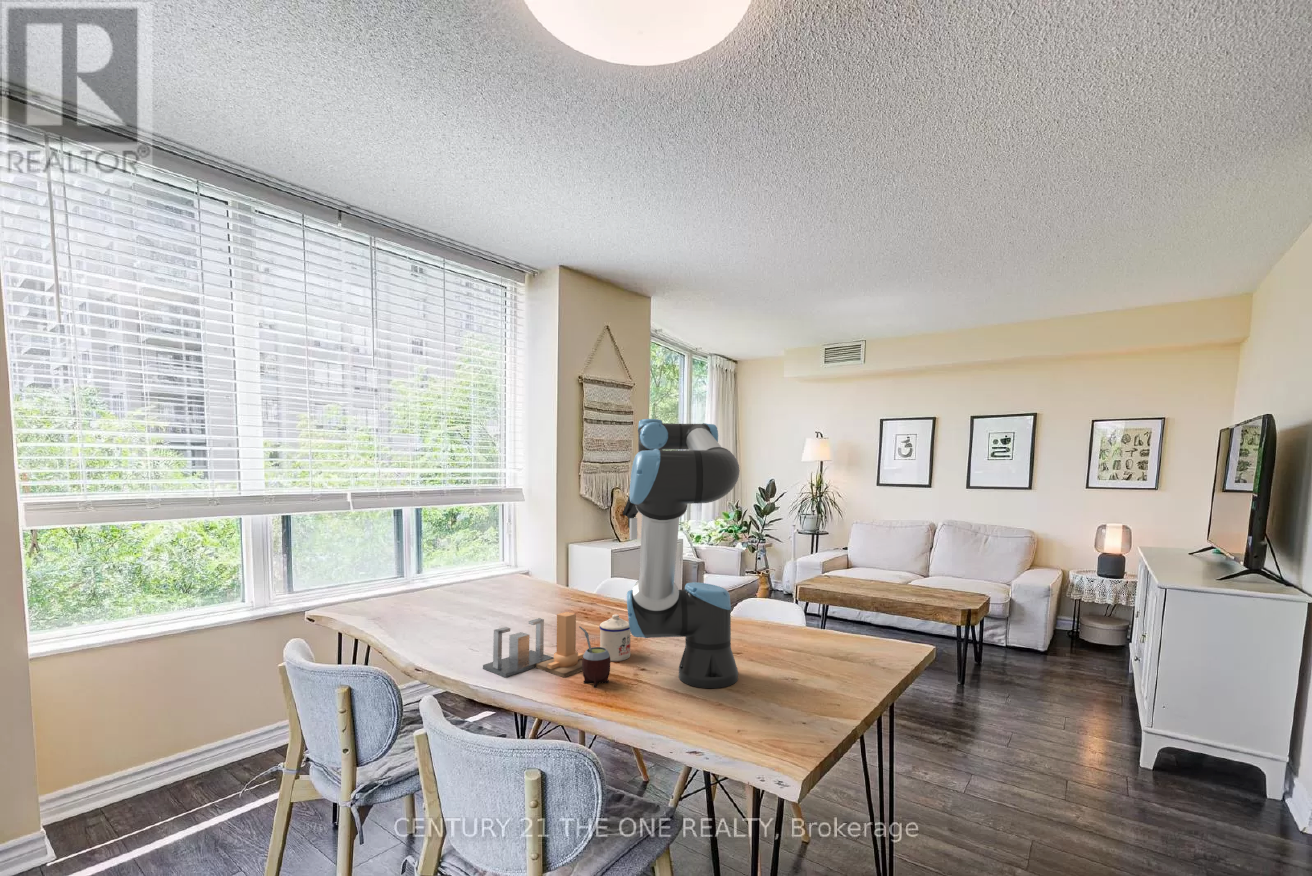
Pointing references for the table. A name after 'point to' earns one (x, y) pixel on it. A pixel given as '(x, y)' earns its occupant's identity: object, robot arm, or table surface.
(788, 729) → the table surface
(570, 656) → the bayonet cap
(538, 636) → the grey double hook stand
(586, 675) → the mate gourd
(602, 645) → the teacup with lid
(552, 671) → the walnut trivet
